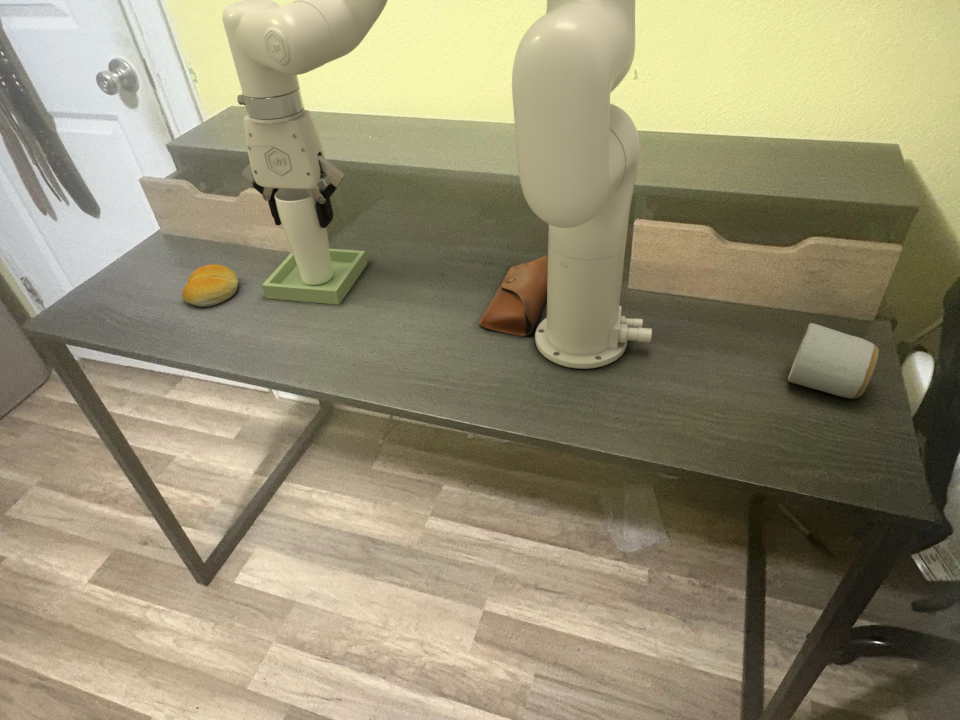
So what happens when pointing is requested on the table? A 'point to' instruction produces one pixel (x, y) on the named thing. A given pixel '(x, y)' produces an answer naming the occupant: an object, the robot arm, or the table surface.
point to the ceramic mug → (834, 362)
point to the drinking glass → (305, 234)
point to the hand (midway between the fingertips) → (304, 221)
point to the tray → (291, 286)
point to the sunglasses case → (518, 299)
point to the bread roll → (210, 285)
